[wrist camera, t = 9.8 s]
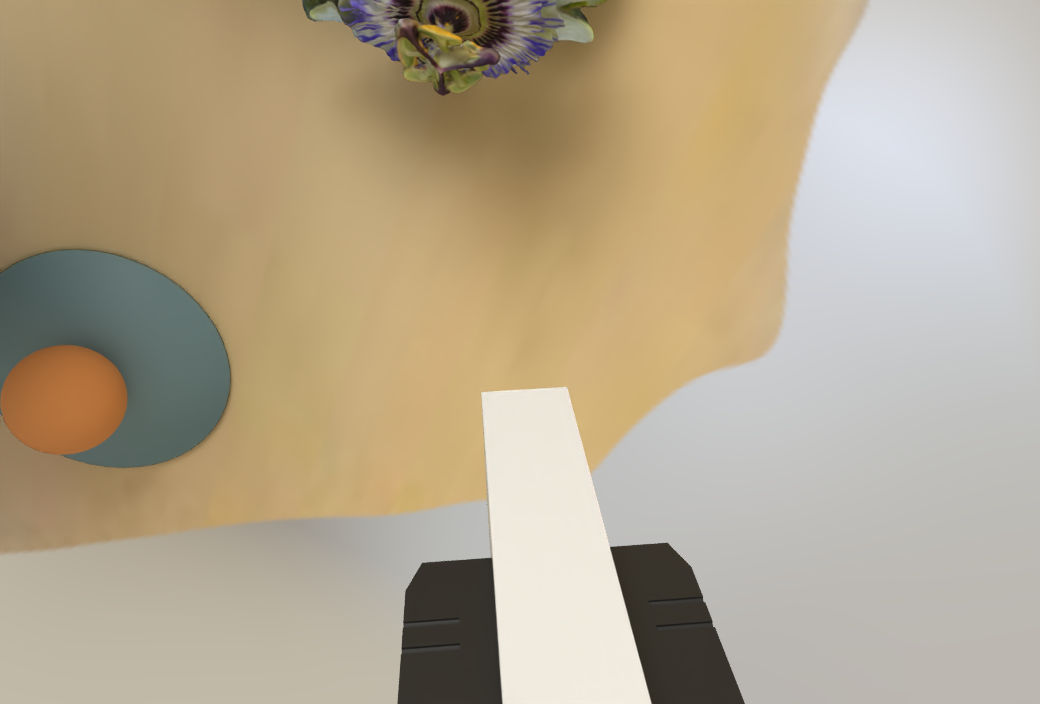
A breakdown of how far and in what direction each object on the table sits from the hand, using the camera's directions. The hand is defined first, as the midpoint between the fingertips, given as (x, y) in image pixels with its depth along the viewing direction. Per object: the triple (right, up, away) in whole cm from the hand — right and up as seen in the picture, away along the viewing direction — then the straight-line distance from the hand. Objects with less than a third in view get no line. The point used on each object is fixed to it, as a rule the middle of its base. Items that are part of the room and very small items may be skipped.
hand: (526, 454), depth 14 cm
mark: (-22, +1, +27) cm, 35 cm away
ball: (-23, -1, +25) cm, 34 cm away
